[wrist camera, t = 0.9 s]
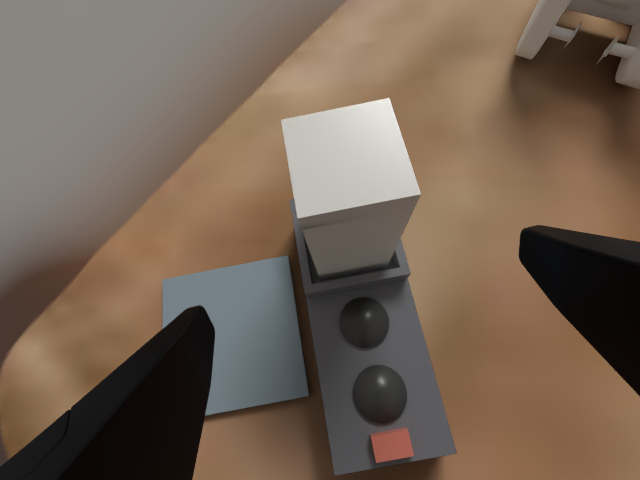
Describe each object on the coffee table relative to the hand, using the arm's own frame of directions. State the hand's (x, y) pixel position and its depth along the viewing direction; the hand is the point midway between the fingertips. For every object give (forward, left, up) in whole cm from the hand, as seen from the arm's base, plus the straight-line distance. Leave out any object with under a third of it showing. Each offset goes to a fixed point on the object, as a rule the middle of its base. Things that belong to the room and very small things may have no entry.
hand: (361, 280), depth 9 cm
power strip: (0, -1, -14) cm, 14 cm away
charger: (+5, -2, -11) cm, 12 cm away
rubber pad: (+3, +8, -14) cm, 16 cm away
